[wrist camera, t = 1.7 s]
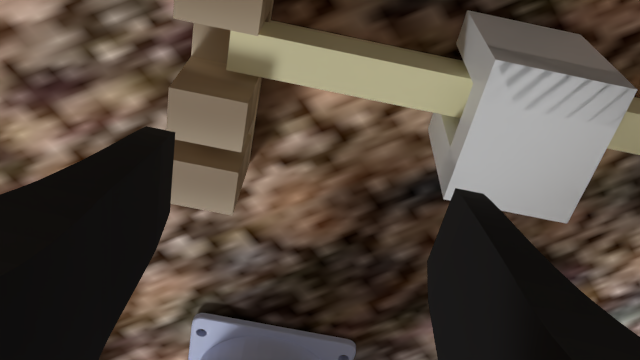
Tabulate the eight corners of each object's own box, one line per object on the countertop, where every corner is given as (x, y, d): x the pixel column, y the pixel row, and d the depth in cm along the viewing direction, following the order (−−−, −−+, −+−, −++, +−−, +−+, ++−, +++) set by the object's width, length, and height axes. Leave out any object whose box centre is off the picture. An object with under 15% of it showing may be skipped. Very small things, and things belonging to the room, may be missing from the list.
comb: (249, 164, 24) (232, 215, 20) (187, 152, 23) (162, 201, 20) (294, -139, 18) (281, -131, 15) (214, -158, 18) (183, -153, 15)
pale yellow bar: (833, 170, 22) (879, 204, 20) (238, 47, 21) (226, 70, 19) (858, 138, 21) (908, 170, 19) (243, 8, 20) (230, 28, 18)
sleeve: (529, 149, 22) (567, 223, 18) (427, 129, 22) (443, 199, 18) (580, 34, 20) (637, 89, 16) (467, 10, 20) (495, 59, 16)
